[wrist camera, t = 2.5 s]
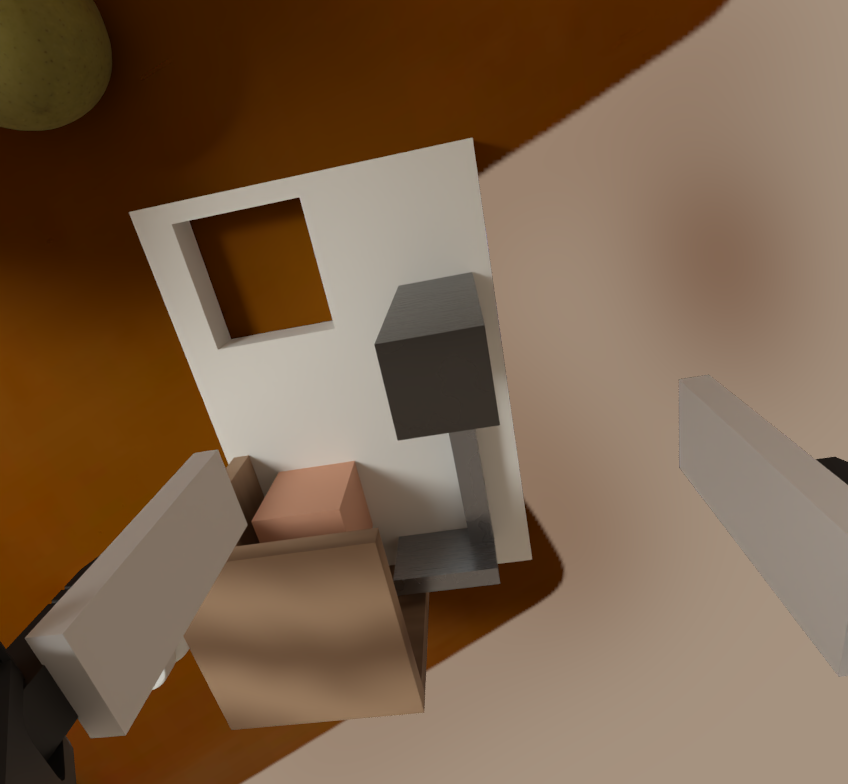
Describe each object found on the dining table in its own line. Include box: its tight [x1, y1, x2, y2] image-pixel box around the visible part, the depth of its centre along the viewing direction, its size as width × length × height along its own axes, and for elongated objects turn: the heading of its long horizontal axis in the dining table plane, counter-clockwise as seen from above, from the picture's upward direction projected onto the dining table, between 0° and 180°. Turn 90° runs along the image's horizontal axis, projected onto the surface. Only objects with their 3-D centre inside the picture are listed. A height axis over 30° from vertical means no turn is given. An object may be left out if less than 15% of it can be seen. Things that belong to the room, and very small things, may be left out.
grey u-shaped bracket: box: [374, 272, 500, 596], centre depth 27 cm, size 18×8×10 cm, turn 11°
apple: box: [0, 0, 112, 131], centre depth 22 cm, size 8×8×7 cm
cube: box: [251, 461, 373, 543], centre depth 31 cm, size 5×5×5 cm
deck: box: [129, 138, 532, 565], centre depth 32 cm, size 26×18×2 cm
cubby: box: [183, 455, 429, 730], centre depth 29 cm, size 11×10×10 cm
